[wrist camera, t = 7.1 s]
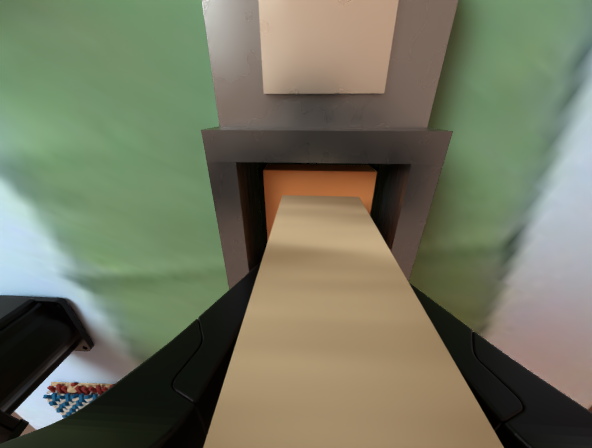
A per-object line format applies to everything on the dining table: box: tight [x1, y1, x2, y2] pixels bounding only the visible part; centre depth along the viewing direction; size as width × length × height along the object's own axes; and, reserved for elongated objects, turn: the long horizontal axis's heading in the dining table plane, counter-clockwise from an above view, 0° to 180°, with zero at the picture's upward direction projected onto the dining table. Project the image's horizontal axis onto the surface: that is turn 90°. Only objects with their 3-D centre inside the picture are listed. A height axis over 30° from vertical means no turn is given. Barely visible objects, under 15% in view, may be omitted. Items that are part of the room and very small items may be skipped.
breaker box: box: [201, 0, 458, 290], centre depth 11 cm, size 15×9×4 cm, turn 0°
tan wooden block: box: [203, 195, 504, 448], centre depth 7 cm, size 4×4×9 cm
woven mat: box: [43, 382, 114, 418], centre depth 27 cm, size 10×11×2 cm
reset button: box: [263, 164, 377, 240], centre depth 13 cm, size 6×6×2 cm
